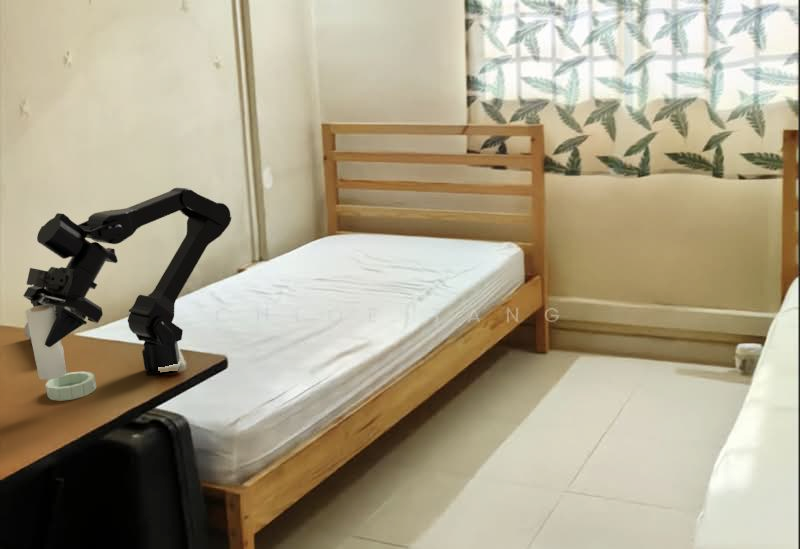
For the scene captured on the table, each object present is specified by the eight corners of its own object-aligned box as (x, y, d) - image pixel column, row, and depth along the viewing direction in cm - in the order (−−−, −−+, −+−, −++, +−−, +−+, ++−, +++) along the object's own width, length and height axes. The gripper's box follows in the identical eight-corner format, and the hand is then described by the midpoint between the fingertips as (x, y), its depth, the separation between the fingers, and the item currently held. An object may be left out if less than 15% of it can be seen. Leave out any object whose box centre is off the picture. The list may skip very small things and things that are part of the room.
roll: (70, 368, 187) (57, 302, 183) (62, 378, 182) (48, 310, 179) (44, 371, 187) (30, 305, 184) (35, 381, 182) (21, 313, 179)
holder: (99, 381, 200) (97, 369, 199) (90, 397, 191) (87, 385, 190) (54, 386, 199) (52, 374, 198) (42, 402, 190) (40, 390, 190)
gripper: (23, 245, 187) (-21, 316, 182) (76, 253, 175) (30, 331, 170) (68, 274, 195) (27, 343, 190) (121, 284, 183) (79, 359, 178)
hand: (39, 343), depth 182 cm, fingers closed on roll, 5 cm apart
